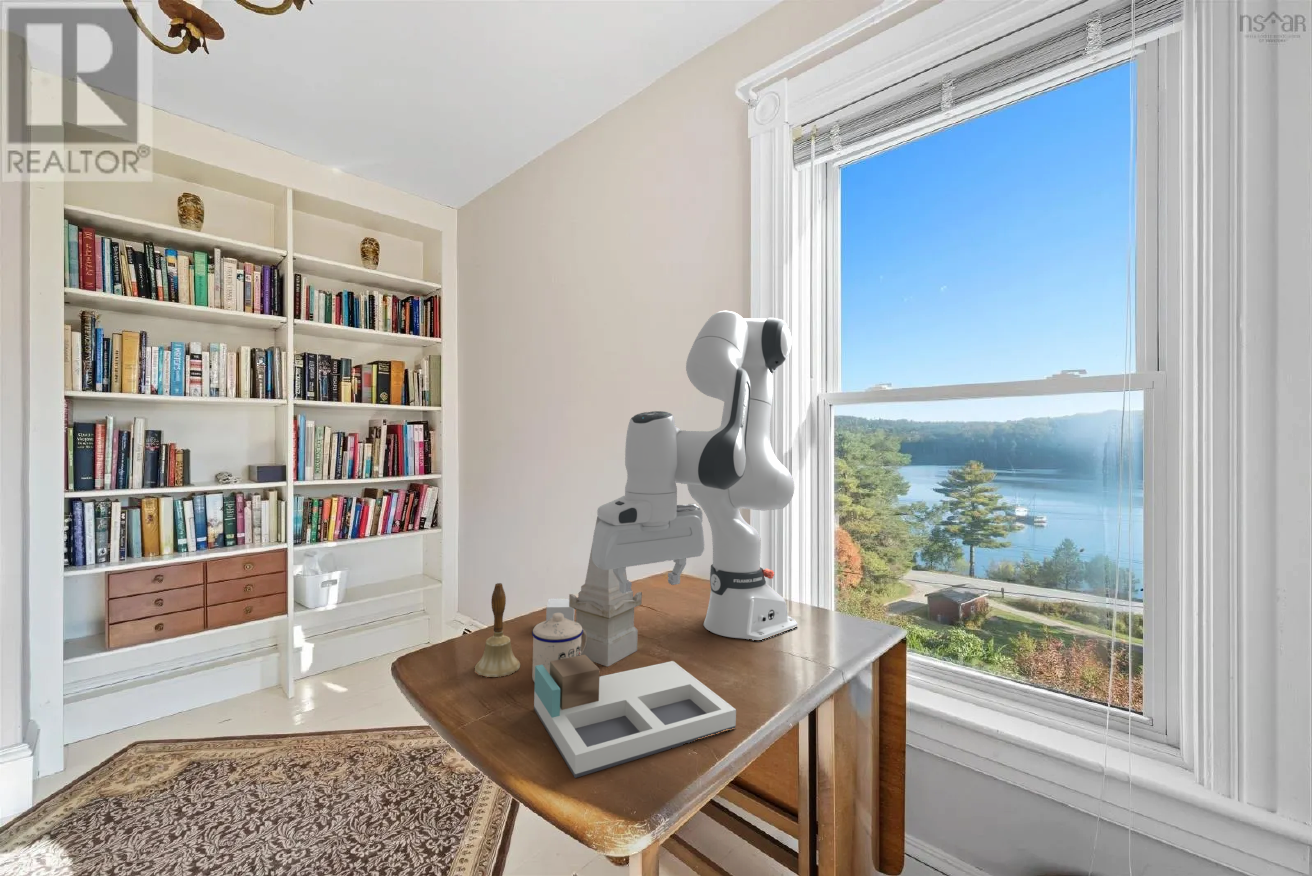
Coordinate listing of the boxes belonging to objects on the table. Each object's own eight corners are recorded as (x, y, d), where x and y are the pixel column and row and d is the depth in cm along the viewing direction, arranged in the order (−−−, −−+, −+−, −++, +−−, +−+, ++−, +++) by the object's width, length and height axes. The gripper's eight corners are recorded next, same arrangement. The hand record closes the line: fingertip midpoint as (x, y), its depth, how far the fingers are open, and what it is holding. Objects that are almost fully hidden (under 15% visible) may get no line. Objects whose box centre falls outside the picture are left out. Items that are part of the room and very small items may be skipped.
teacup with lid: (555, 695, 90) (557, 627, 90) (520, 679, 96) (521, 615, 95) (602, 670, 100) (604, 609, 100) (568, 657, 105) (570, 599, 105)
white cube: (547, 624, 123) (548, 598, 123) (574, 624, 124) (574, 598, 124) (545, 634, 117) (546, 607, 117) (573, 633, 118) (573, 606, 118)
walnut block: (584, 684, 88) (585, 654, 88) (598, 700, 83) (599, 669, 83) (549, 692, 85) (550, 661, 85) (562, 709, 80) (562, 677, 80)
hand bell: (515, 678, 96) (517, 590, 96) (468, 678, 95) (471, 590, 95) (523, 658, 104) (525, 577, 104) (480, 658, 104) (482, 577, 103)
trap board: (672, 677, 98) (673, 639, 98) (735, 728, 81) (736, 683, 81) (534, 709, 86) (535, 665, 85) (574, 778, 69) (576, 724, 69)
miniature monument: (640, 650, 110) (644, 505, 109) (607, 668, 101) (612, 511, 101) (601, 638, 116) (605, 500, 115) (567, 654, 107) (571, 505, 106)
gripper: (692, 500, 98) (691, 574, 98) (588, 509, 88) (588, 591, 88) (712, 505, 92) (711, 584, 93) (603, 515, 82) (603, 603, 83)
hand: (650, 587), depth 90 cm, fingers open, 8 cm apart
